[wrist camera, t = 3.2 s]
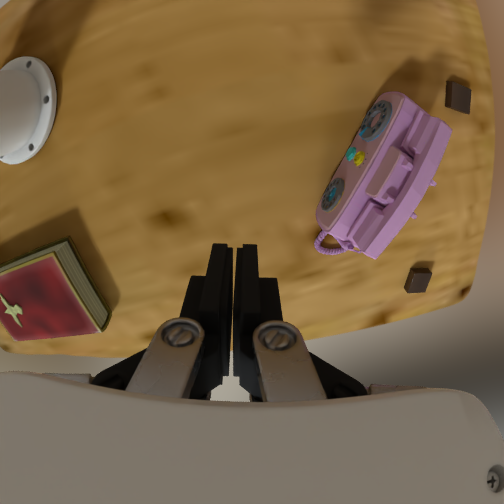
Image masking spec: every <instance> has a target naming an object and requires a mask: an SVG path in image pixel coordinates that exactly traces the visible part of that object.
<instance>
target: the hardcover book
mask: <svg viewBox="0 0 504 504" xmlns="http://www.w3.org/2000/svg"><path fill="white" fill-rule="evenodd" d="M111 316H112V311H111V310H110V308H109V307H108V305H107V303H106V302H105V300H104V298H103V297H102V295H101V293H100V292H99V290H98V288H97V287H96V285H95V283H94V281H93V280H92V278H91V276H90V274H89V272H88V271H87V269H86V267H85V265H84V263H83V261H82V259H81V257H80V256H79V254H78V252H77V250H76V248H75V246H74V244H73V242H72V240H71V238H70V236H68V237H65V238H62V239H60V240H57V241H55V242H52V243H50V244H47V245H45V246H42V247H40V248H37V249H35V250H33V251H30V252H28V253H26V254H23V255H21V256H19V257H16V258H14V259H12V260H9V261H7V262H5V263H3V264H1V265H0V323H1V324H2V326H3V327H4V328H5V330H6V331H7V332H8V334H9V335H10V336H11V338H12V339H13V340H14V341H24V340H36V339H47V338H57V337H66V336H75V335H84V334H92V333H100V332H104V330H105V329H106V328H107V326H108V324H109V322H110V319H111Z"/></svg>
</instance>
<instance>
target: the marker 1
mask: <svg viewBox="0 0 504 504" xmlns="http://www.w3.org/2000/svg"><path fill="white" fill-rule="evenodd" d="M431 276H432V272H431V271H430V270H429V269H428V268H411V269H410V272H409V275H408V278H407V280H406V283H405V286H404V289H405V290H406V292H407V293H421V292H425V291H426V289H427V286H428V283H429V281H430V278H431Z"/></svg>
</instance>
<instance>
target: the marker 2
mask: <svg viewBox="0 0 504 504" xmlns="http://www.w3.org/2000/svg"><path fill="white" fill-rule="evenodd" d="M470 102H471V89H469V88H467V87H464V86H462V85H460V84H458V83H455V82H453V81H447V83H446V99H445V106H446V107H448V108H451V109H454V110H456V111H459V112H462V113H465V114H470Z"/></svg>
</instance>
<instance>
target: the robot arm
mask: <svg viewBox="0 0 504 504" xmlns="http://www.w3.org/2000/svg"><path fill="white" fill-rule="evenodd" d="M56 101H57V94H56V85H55V81H54V78H53V75H52V73H51V71H50V69H49V67H48V66H47V65H46V64H45V63H44V62H43V61H41V60H40V59H38V58H35V57H25V56H24V57H19V58H16V59H14V60H12V61H10V62H9V63H7V64H6V65H5V66H4V67H3V68H2V69H1V70H0V160H1V161H3V162H4V163H8V164H18V163H21V162H24V161H26V160H28V159H30V158H31V157H33V156H34V155H35V154H36V153H37V152H38V151H39V150H40V149H41V147H42V146H43V145H44V143H45V141H46V140H47V138H48V136H49V133H50V131H51V128H52V125H53V122H54V118H55V112H56ZM232 312H233V372H234V373H233V375H234V376H239V377H240V386H241V387H243V388H244V389H245V390H246V391H248V392H249V393H250V402H230V401H210V398H211V390H212V389H214V388H215V387H217V386H218V385H220V384H221V385H222V380H223V376H229V362H230V344H231V328H232ZM0 504H504V440H503V438H502V436H501V433H500V431H499V429H498V427H497V425H496V423H495V422H494V420H493V418H492V416H491V415H490V413H489V411H488V410H487V409H486V407H485V406H484V405H483V403H482V402H481V401H480V400H479V399H478V398H477V397H475V396H473V395H472V394H469V393H466V392H463V391H459V390H452V389H445V388H426V387H421V386H420V387H419V386H394V385H377V384H371V385H370V387H364V386H363V385H362V384H361V383H360V382H359V381H357V380H356V379H354V378H352V377H350V376H349V375H347V374H345V373H344V372H342V371H340V370H339V369H337V368H335V367H334V366H332V365H330V364H329V363H327V362H325V361H323V360H322V359H320V358H319V357H317V356H315V355H314V354H312V353H311V352H309V351H308V349H307V347H306V345H305V342H304V340H303V337H302V335H301V333H300V331H299V330H298V329H297V328H296V327H295V326H294V325H292V324H290V323H288V322H284V321H283V317H282V310H281V303H280V296H279V289H278V282H277V278H259V273H258V255H257V245H255V244H243V248H237V257H236V272H235V287H234V302H233V248H229V247H228V246H227V244H216V243H213V246H212V250H211V255H210V259H209V264H208V268H207V273H206V276H191V278H190V281H189V285H188V288H187V291H186V295H185V299H184V302H183V306H182V309H181V313H180V317H179V318H173V319H170V320H168V321H166V322H164V323H163V324H161V326H160V327H159V328H158V330H157V331H156V333H155V335H154V337H153V339H152V341H151V342H150V344H149V346H148V348H146V349H144V350H142V351H140V352H138V353H136V354H134V355H133V356H131V357H129V358H127V359H125V360H123V361H121V362H119V363H117V364H115V365H113V366H111V367H109V368H107V369H105V370H103V371H102V372H100V373H99V374H97V375H96V376H95V377H92V376H91V374H58V373H56V374H55V373H42V374H40V373H33V372H24V371H9V372H1V373H0Z"/></svg>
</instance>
